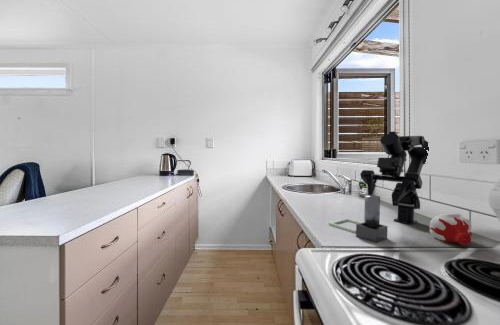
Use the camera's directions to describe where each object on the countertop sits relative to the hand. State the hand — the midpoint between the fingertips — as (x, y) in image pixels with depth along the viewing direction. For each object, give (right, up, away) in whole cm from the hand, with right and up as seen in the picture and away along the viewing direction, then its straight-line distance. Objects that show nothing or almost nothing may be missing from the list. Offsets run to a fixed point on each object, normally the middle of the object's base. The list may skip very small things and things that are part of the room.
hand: (382, 198), depth 83 cm
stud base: (-6, -13, -5) cm, 15 cm away
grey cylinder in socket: (-6, -12, -5) cm, 14 cm away
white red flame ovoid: (+18, -13, -7) cm, 23 cm away
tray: (-8, -12, +7) cm, 17 cm away
